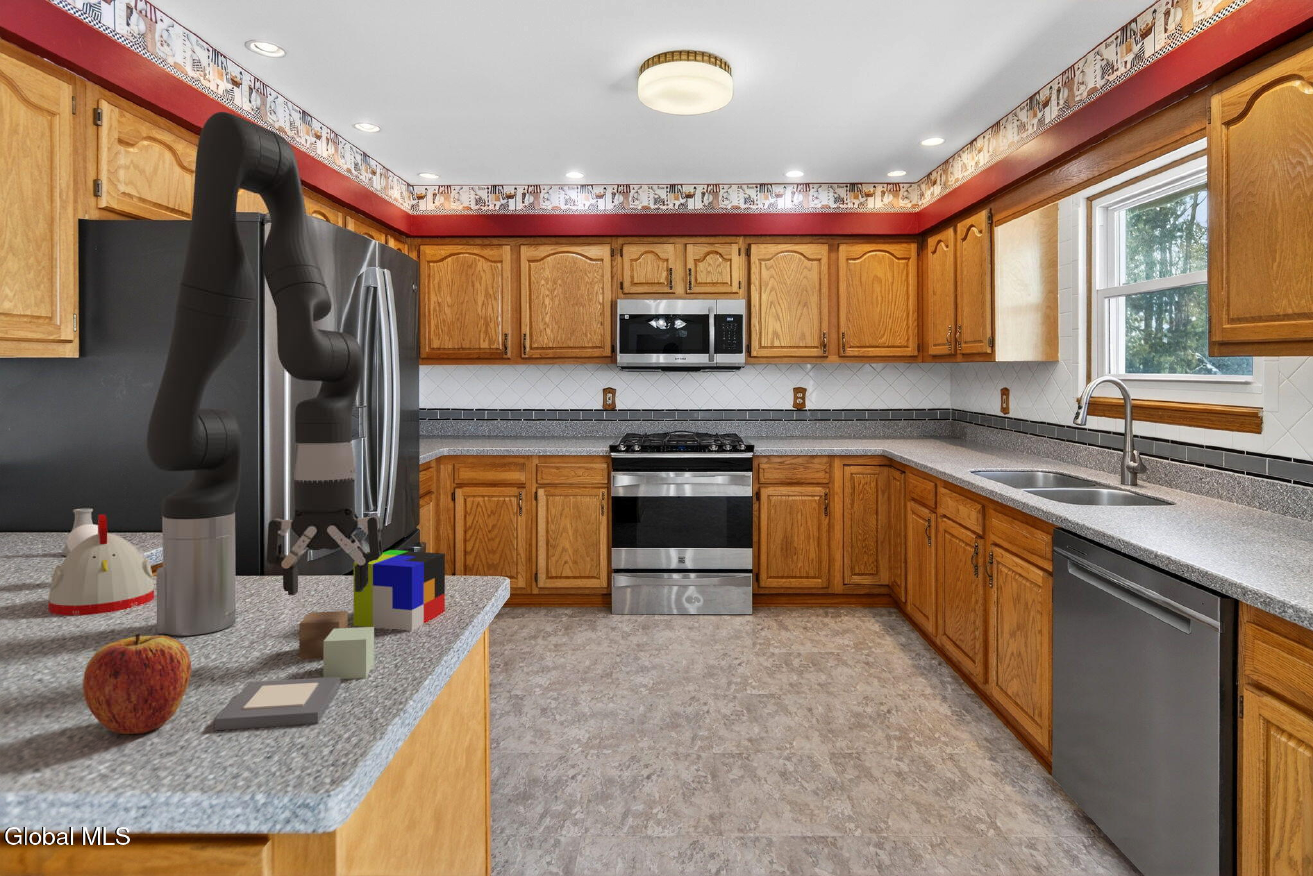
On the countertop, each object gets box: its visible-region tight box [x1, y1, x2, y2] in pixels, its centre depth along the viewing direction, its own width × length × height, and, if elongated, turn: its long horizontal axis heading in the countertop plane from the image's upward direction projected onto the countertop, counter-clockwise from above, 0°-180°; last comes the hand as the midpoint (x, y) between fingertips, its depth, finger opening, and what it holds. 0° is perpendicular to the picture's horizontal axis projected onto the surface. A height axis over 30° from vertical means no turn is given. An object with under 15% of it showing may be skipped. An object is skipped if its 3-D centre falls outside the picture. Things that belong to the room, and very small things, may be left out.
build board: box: [214, 677, 341, 731], centre depth 79 cm, size 10×10×1 cm
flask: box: [60, 508, 94, 557], centre depth 153 cm, size 7×7×10 cm
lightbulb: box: [66, 523, 98, 551], centre depth 129 cm, size 6×6×11 cm
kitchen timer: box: [48, 514, 155, 616], centre depth 117 cm, size 14×14×15 cm
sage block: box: [323, 627, 375, 680], centre depth 89 cm, size 5×5×5 cm
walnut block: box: [298, 610, 349, 660], centre depth 96 cm, size 5×5×5 cm
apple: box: [82, 633, 192, 735], centre depth 73 cm, size 9×9×10 cm
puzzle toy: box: [353, 549, 446, 632], centre depth 111 cm, size 10×10×10 cm
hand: (326, 592), depth 96 cm, fingers open, 8 cm apart
